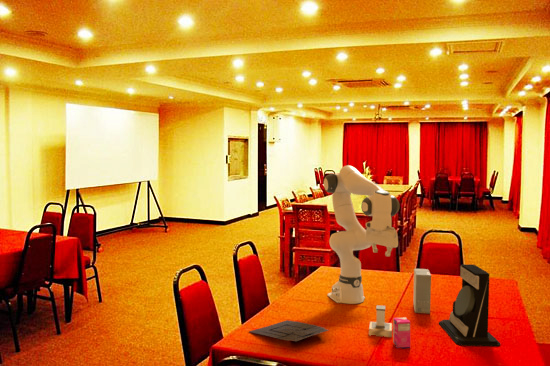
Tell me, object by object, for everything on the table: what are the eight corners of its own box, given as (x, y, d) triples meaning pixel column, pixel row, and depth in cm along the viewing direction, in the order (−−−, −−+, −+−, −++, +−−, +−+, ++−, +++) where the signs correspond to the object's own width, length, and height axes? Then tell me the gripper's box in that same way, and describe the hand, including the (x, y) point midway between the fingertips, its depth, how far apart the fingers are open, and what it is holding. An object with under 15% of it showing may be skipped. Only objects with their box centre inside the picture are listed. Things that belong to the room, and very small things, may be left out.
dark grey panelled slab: (292, 349, 206) (292, 340, 207) (248, 337, 229) (247, 329, 229) (333, 335, 222) (332, 326, 222) (287, 325, 245) (287, 318, 245)
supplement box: (392, 343, 216) (393, 317, 215) (406, 343, 216) (406, 317, 215) (397, 348, 210) (397, 322, 209) (410, 348, 210) (411, 321, 210)
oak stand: (368, 335, 225) (369, 328, 225) (370, 327, 235) (370, 321, 235) (391, 337, 223) (391, 330, 223) (391, 329, 233) (392, 322, 233)
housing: (375, 327, 227) (376, 308, 227) (376, 323, 232) (376, 305, 232) (384, 327, 226) (385, 309, 226) (385, 324, 231) (385, 305, 231)
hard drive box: (430, 314, 256) (431, 275, 254) (415, 313, 257) (415, 274, 256) (427, 305, 271) (428, 268, 270) (412, 304, 272) (413, 268, 271)
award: (437, 322, 243) (438, 261, 242) (476, 322, 243) (477, 261, 241) (458, 346, 213) (459, 276, 211) (502, 347, 212) (504, 277, 211)
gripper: (401, 227, 228) (401, 257, 229) (374, 222, 247) (373, 250, 247) (390, 228, 225) (390, 259, 226) (363, 222, 244) (363, 251, 245)
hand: (381, 254), depth 237 cm, fingers open, 8 cm apart
